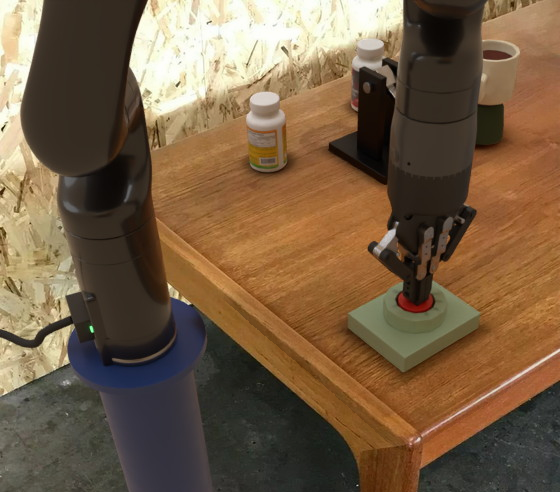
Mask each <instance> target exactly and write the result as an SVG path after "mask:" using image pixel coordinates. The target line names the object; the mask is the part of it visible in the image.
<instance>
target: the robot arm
mask: <svg viewBox="0 0 560 492" xmlns="http://www.w3.org/2000/svg"><path fill="white" fill-rule="evenodd" d="M488 1H489V0H402V37H401V43H400V50H399V56H398V61H397V62H398V68H397V82H396V98H395V109H394V114H393V119H392V124H391V132H390V150H389V167H388V183H387V184H386V186H387V187H386V193H387V198H388V201H389V203H390V207H391V211H390V215H389V217H388V219H387V222H386V230H387V232H386V234H385V235H383V238H381V240H380V241H379V242H378V241H376V240H372V241H371V242H369V244H368V246H367V252H368V253H369V254H370V255H371V256H372V257H373V258H374V259H376V260H377V261H378V262H379V263H380V264H381V265H382V266H383V267H385V268H386V270H388V271H389V272H391V273H392V274H393V275H394V276H396V277H398V278H399V279H401V280H402V282H403V292H402V294H403V297H405V298H406V299H408V300H409V301H410V302H412V303H413V304H414V305H416V306H418V305H420V304H422V303H423V302H425V301H427V300H428V299H429V294H430V292H431V289H432V281H434V274H435V273H436V272H437V270H438V268H439V264H440V263H441V262H444V263H447V262H448V261H450V259H451V257H452V256H453V254H454V252H455V251H456V249H457V248H458V246H459V245H460V242H461V241H462V239H463V237H464V235H465V234H466V233H467V231H468V229H469V228H470V226H471V224H472V223H473V221H474V220H475V217H476V216H477V212H478V210H477V209H475V208H473V207H472V206H471V205H470V204H468V203H466V201H467V200H468V197H469V191H470V190H469V189H470V185H471V184H470V183H471V175H472V171H473V170H472V169H473V162H474V155H475V149H476V144H475V142H476V134H477V106H478V99H479V92H480V84H481V77H482V70H483V44H482V40H483V36H482V34H483V33H482V29H483V19H484V12H485V7H486V6H485V5H486V4H487V2H488ZM148 2H149V0H42V7H41V14H40V15H41V16H40V21H39V26H38V30H37V31H38V32H37V36H36V40H35V45H34V49H33V53H32V58H31V63H30V67H29V71H28V74H27V78H26V82H25V86H24V90H23V94H22V98H21V102H20V109H19V118H20V127H21V131H22V134H23V136H24V139H25V142H26V144H27V146H28V149H30V150H31V153H32V154H33V155H34V157H35V158H36V159H37V161H39V163H41V165H42V166H44V167H45V168H46V169H48V170H49V171H50V172H52V173H54V174H56V175H58V181H57V187H56V188H57V189H56V206H57V210H58V213H59V218H60V222H61V224H62V228H63V232H64V234H65V238H66V242H67V245H68V249H69V252H70V256H71V260H72V263H73V266H74V274H75V277H76V282H77V284H78V289H79V291H77V292H74V293H70V294H65V295H64V297H65V300H66V301H65V302H66V304H67V308H68V310H69V315H68V316H66V317H63V318H61V319H59V320H56V321H54V322H52V323H50V324H47V325H46V326H44V327H43V328H41V329H40V330H39V331H37V333H36V334H35V337H34V338H33V339H26V338H23V337H21V336H19V335H16V334H15V333H13V332H11V331H8V330H5V329H1V328H0V339H3V340H6V341H7V342H10V343H12V344H14V345H15V346H19V347H21V348H26V349H36V348H38V347H40V346H41V345H42V344H43V343H44V341H45V338H46V337H47V336H50V335H51V334H53V333H55V332H57V331H59V330H62V329H65V328H67V327H69V326H72V325H73V326H74V328H75V330H76V333H77V336H78V339H79V343H83V342H87V341H90V340H94V341H95V345H96V348H97V351H98V353H99V355H100V358H101V361H102V364H103V366H109V365H118V366H125V367H135V366H142V365H146V364H149V363H152V362H154V361H157V360H159V359H160V358H162V357H163V356H165V355H166V354H167V353H168V352H169V351H170V350H171V349H172V348H173V346H174V345H175V343H176V340H177V328H176V323H175V319H174V315H173V310H172V305H171V299H170V297H171V293H170V289H169V283H168V278H167V272H166V267H165V260H164V256H163V250H162V245H161V239H160V234H159V228H158V222H157V218H156V212H155V206H154V200H153V191H152V190H153V189H152V188H153V161H152V153H151V147H150V139H149V132H148V126H147V119H146V118H147V117H146V111H145V105H144V100H143V96H142V92H141V89H140V84H139V82H138V80H137V77H136V75H135V73H134V70H133V69H132V68H131V66H130V64H131V58H132V53H133V49H134V48H133V47H134V43H135V41H136V40H135V39H136V36H137V33H138V29H139V27H140V23H141V21H142V17H143V15H144V12H145V9H146V7H147V5H148ZM448 238H449V240H448Z"/></svg>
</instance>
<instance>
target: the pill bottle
mask: <svg viewBox="0 0 560 492" xmlns="http://www.w3.org/2000/svg"><path fill="white" fill-rule="evenodd" d="M355 51H356V56H354V57H353V59H352V61H351V86H350V87H351V89H350V106H351V108H352V110H354V111H355V112H357V113H358V89H359V68H361V67H364V66H365V67H367V68H369V69H371V70H373V71H375V69H378V68H380V67H382V59H384V58H387V57H386V56H385V43H384V41H383V40H381V39H379V38H374V37H372V38H371V37H369V38H368V37H367V38H363V39H361V40H358V41H357V42H356V50H355Z"/></svg>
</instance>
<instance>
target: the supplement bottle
mask: <svg viewBox="0 0 560 492" xmlns="http://www.w3.org/2000/svg"><path fill="white" fill-rule="evenodd" d="M249 105H250V106H249V107H250V111H249V112H248V113H247V115H246V117H245V123H246V124H245V125H246V138H247V148H248V150H247V151H248V161H249V165H250V167H251V168H252V169H253V170H255V171H258V172H261V173H273V172H277V171H280V170H282V169H283V168H284V167H286V165H287V163H288V144H287V119H286V115H285V112H284V111H283V110H282V109H281V99H280V96H279V94H278V93H275V92H272V91H259V92H256V93H254V94H252V95H251V97H250V98H249Z"/></svg>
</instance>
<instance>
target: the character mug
mask: <svg viewBox="0 0 560 492" xmlns="http://www.w3.org/2000/svg"><path fill="white" fill-rule="evenodd" d="M482 44H483V70H482V77H481V84H480V92H479V99H478V106H477V134H476V142H475V145H482V146H487V145H488V146H489V145H495V144H498V143H499V142H501V141H502V140H503V137H504V126H505V105H504V104H505V103H508V102H509V101H510V100H511V99H512V98H513V95H514V90H515V84H516V78H517V73H518V67H519V62H520V55H521V53H520V52H521V49H520V48H519V47H518V46H517V45H516V44H514V43H512V42H510V41H506V40H501V39H482Z"/></svg>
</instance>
